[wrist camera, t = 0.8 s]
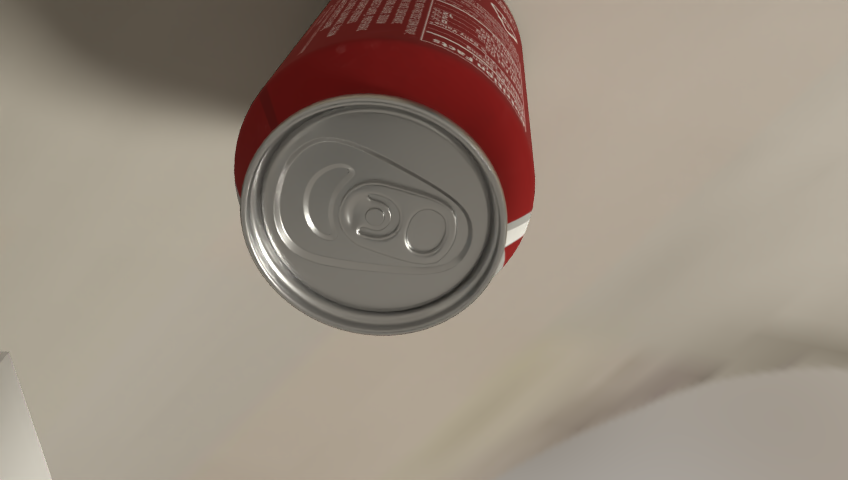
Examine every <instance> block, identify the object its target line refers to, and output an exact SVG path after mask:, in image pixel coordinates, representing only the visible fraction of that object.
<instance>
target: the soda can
mask: <svg viewBox="0 0 848 480" xmlns="http://www.w3.org/2000/svg"><path fill="white" fill-rule="evenodd" d="M234 174H235V186H236V191H237V197H238V201H239V204H240V217H241V225H242V231H243V235H244V239H245V242H246V245H247V248H248V250H249V253H250V255H251V257H252V259H253V261H254V263H255V265H256V266H257V268H258V269H259V271H260V273H261V274H262V276H263V277H264V278H265V279H266V281H267V282H268V283H269V285H270V286H271V287H272V288H273V289H274V290H275V291H276V292H277V293H278V294H279V295H280V296H281V297H282V298H284V299H285V300H286V301H287V302H288V303H290V304H291V305H292V306H293V307H295V308H296V309H298V310H299V311H301V312H302V313H304V314H306V315H307V316H309V317H311V318H313V319H315V320H317V321H319V322H321V323H324V324H326V325H328V326H331V327H334V328H337V329H340V330H344V331H348V332H352V333H358V334H364V335H376V336H390V335H402V334H408V333H413V332H417V331H421V330H425V329H428V328H431V327H434V326H436V325H438V324H441V323H443V322H445V321H447V320H449V319H450V318H452V317H454V316H456V315H457V314H459V313H460V312H461V311H463V310H464V309H466V308H467V307H468V306H469V305H470V304H472V303H473V302H474V301H475V300H476V299H477V298H478V297H479V296H480V295H481V293H482V292H483V291H484V290H485V288H486V287H487V286H488V284H489V283H490V281H491V280H492V278H493V277H494V276H495V275H496V274H497V273H498V272H499V271H500V270H501V269H502V268H503V267H504V265H505V264H506V263H507V262H508V260H509V259H510V258H511V256H512V255H513V253H514V252H515V250H516V249H517V247H518V245H519V244H520V242H521V240H522V238H523V235H524V233H525V231H526V228H527V226H528V223H529V220H530V216H531V212H532V208H533V201H534V194H535V173H534V162H533V152H532V142H531V132H530V122H529V112H528V102H527V92H526V83H525V73H524V63H523V53H522V44H521V39H520V35H519V31H518V28H517V25H516V22H515V20H514V17H513V15H512V13H511V11H510V10H509V8H508V6H507V5H506V3H505V2H504V0H331V1H330V2H329V3H328V4H327V6H326V7H325V8H324V10H323V11H322V12H321V13H320V15H319V16H318V17H317V19H316V20H315V21H314V23H313V24H312V25H311V26H310V28H309V29H308V30H307V32H306V33H305V34H304V35H303V37H302V38H301V39H300V41H299V42H298V43H297V45H296V46H295V47H294V48H293V50H292V51H291V52H290V54H289V55H288V56H287V57H286V59H285V60H284V61H283V63H282V64H281V65H280V67H279V68H278V69H277V70H276V72H275V73H274V74H273V76H272V77H271V78H270V79H269V81H268V82H267V83H266V85H265V86H264V87H263V88H262V90H261V91H260V92H259V94H258V95H257V97H256V98H255V100H254V101H253V103H252V105H251V107H250V109H249V110H248V112H247V114H246V116H245V119H244V121H243V124H242V127H241V129H240V133H239V137H238V140H237V145H236V152H235V164H234Z"/></svg>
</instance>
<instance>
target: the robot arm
mask: <svg viewBox="0 0 848 480" xmlns="http://www.w3.org/2000/svg"><path fill="white" fill-rule="evenodd" d="M0 480H52V478H51V475H50V472H49V469H48V466H47V463H46V460H45V457H44V454H43V451H42V448H41V445H40V442H39V439H38V437H37V434H36V431H35V428H34V425H33V422H32V419H31V416H30V413H29V410H28V407H27V404H26V401H25V398H24V395H23V392H22V389H21V386H20V383H19V380H18V377H17V374H16V371H15V368H14V365H13V362H12V359H11V356H10V353H9V352H0Z"/></svg>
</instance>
